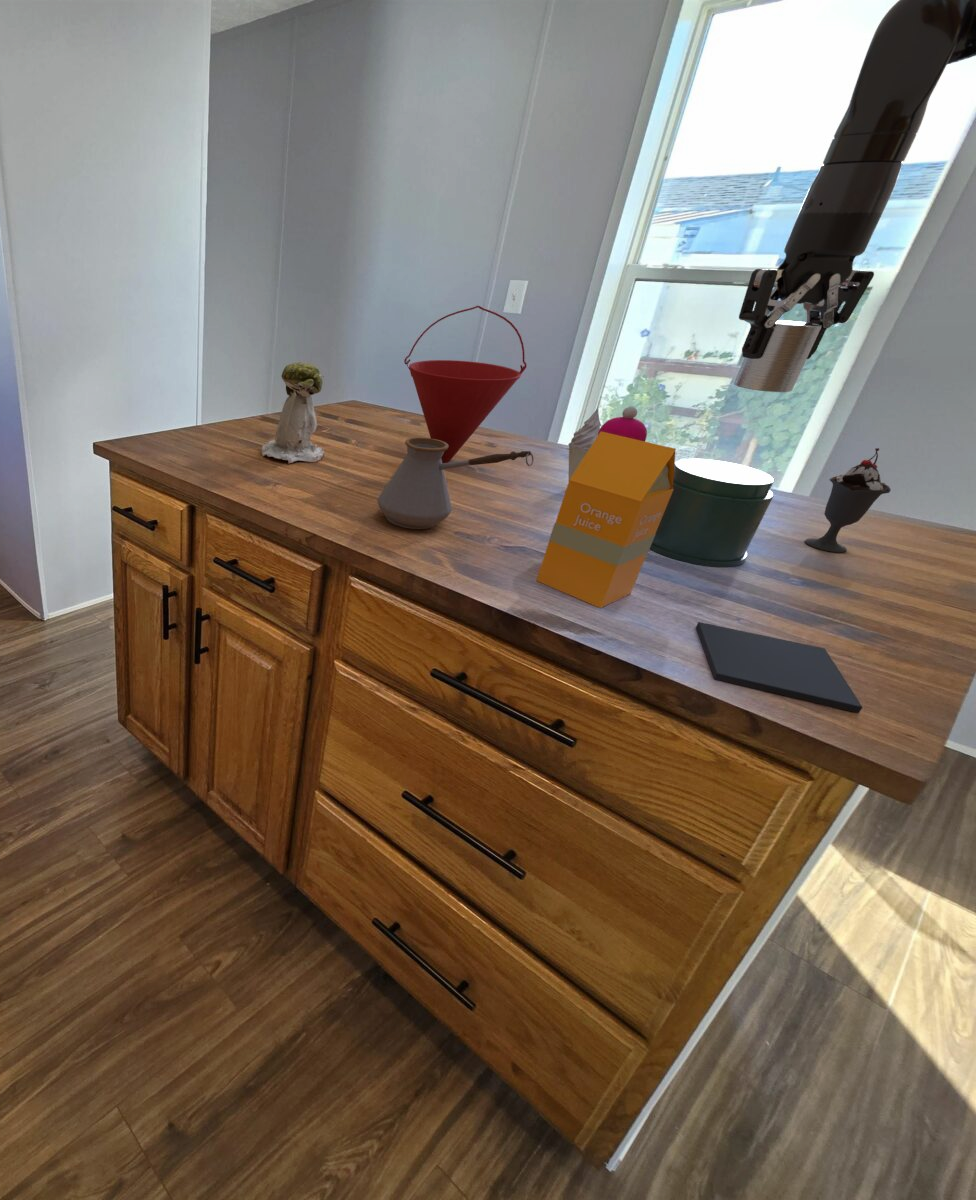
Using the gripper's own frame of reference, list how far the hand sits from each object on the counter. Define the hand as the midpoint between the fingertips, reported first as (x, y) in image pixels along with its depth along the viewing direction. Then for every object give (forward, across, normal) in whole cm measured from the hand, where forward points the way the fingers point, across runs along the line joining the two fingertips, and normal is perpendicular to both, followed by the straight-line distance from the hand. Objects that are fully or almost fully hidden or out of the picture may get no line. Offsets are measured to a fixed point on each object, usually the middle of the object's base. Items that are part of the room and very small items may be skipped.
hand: (775, 357), depth 86 cm
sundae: (+28, +22, +1) cm, 36 cm away
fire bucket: (+28, -23, +38) cm, 53 cm away
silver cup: (+4, 0, 0) cm, 4 cm away
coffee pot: (+28, -36, +7) cm, 46 cm away
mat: (+28, -14, -30) cm, 43 cm away
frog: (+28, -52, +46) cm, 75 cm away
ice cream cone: (+28, -4, +26) cm, 38 cm away
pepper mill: (+28, -14, +5) cm, 31 cm away
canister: (+28, 0, 0) cm, 28 cm away
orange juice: (+28, -24, -12) cm, 39 cm away
